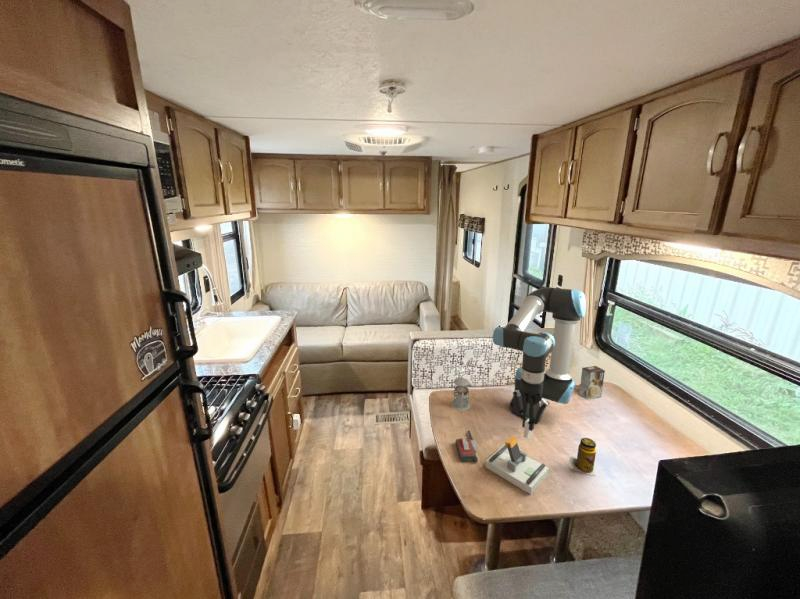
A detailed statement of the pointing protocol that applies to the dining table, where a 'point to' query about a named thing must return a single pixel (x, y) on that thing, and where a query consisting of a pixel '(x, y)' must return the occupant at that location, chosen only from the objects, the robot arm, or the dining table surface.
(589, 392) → the coffee box
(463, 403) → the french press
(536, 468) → the panel
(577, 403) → the dining table surface
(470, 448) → the walkie-talkie
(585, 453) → the condiment
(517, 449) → the lever
